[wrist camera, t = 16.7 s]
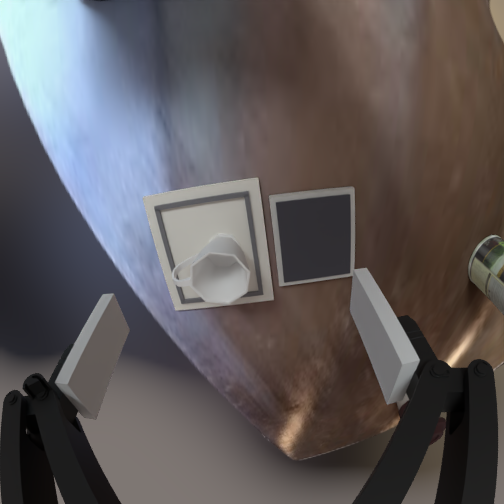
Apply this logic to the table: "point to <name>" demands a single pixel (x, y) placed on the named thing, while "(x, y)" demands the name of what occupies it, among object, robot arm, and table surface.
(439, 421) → the coffee cup
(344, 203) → the ink pad
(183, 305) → the board
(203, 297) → the cup
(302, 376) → the table surface
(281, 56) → the table surface
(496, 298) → the coffee can
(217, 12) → the table surface
